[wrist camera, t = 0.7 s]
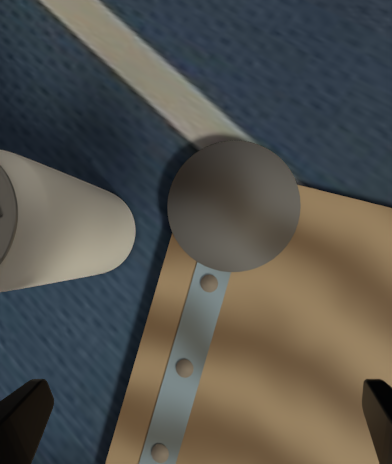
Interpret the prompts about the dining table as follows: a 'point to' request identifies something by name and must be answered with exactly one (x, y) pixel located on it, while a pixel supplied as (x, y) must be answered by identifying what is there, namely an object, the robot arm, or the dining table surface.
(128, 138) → the dining table surface
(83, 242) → the can
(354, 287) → the subfloor panel
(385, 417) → the robot arm
